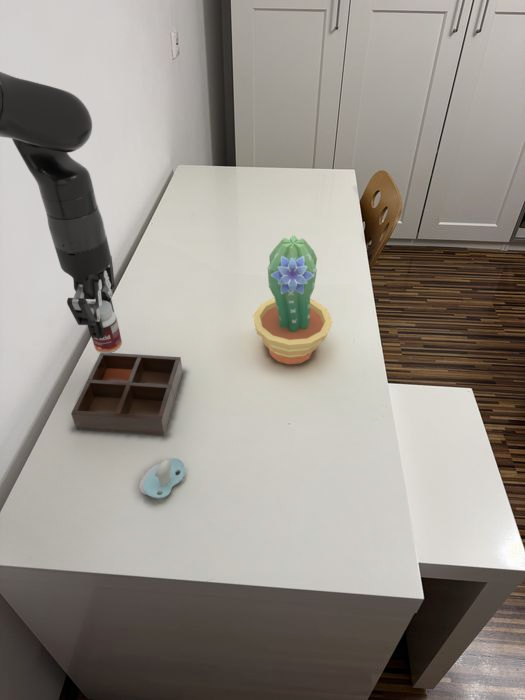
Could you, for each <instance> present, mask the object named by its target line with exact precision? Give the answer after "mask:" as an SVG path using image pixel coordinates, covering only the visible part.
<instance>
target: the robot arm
mask: <svg viewBox="0 0 525 700" xmlns="http://www.w3.org/2000/svg"><path fill="white" fill-rule="evenodd" d="M92 134H93V119H92V116H91V113H90V111H89V109H88V107H87V106H86V105H85V103H84V102H83V101H82V100H81V99H80V98H79V97H78V96H77V95H75V94H73V93H71V92H69V91H67V90H64V89H61V88H57V87H54V86H52V85H51V86H50V85H47V84H43V83H39V82H37V81H36V82H35V81H31V80H27V79H24V78H19V77H16V76H13V75H10V74H7V73H5V72H3V71H0V138H8V139H11V140H12V142H13V144H14V146H15V148H16V149H17V151H18V153H19V155H20V156H21V158H22V160H23V162H24V164H25V166H26V168H27V169H28V171H29V173H30V174H31V175H32V177H33V179H34V180H35V182H36V184H37V185H38V190H39V193H40V198H41V200H42V203H43V207H44V210H45V214H46V219H47V224H48V229H49V233H50V236H51V240H52V243H53V247H54V250H55V252H56V256H57V259H58V262H59V265H60V268H61V270H62V271H63V272H64V273H65V274H67V275H69V276H70V277H71V278H72V281H73V290H74V291H75V292H74V295H73V297H68V298H67V300H66V304H67V306H68V308H69V310H70V312H71V313H72V316H73V318H74V319H75V321H76V323H77V325H78V326H87V328H88V331H89V335H90V337H91V339H92V338H103V337H104V335H105V332H104V329H103V325H102V321H101V318H100V309H99V307H100V306H102V300H104V301H108V302H109V303H110V304H111V306H112V310H113V312H114V313H115V308H114V305H113V300H112V298H113V291H112V290H115V288H116V282H115V274H114V265H113V258H112V257H113V256H112V255H111V250H110V245H109V241H108V236H107V232H106V228H105V223H104V219H103V216H102V214H101V211H100V209H99V206H98V200H97V196H96V191H95V187H94V183H93V178H92V176H91V174H90V171H89V169H88V168H87V167H86V166H85V165H84V164H82V163H81V162H79V161H77V160H76V159H74V157H72V156H71V155H70V154H69V153H75V152H76V151H79V150H81V149H82V148H84V147H85V146H86V145H87V144H88V142H89V140H90V139H91V137H92ZM89 300H90V301H89ZM92 300H95V301H96V302H94V301H92ZM90 308H93V310H94V314H93V313H92V311H91V309H90Z"/></svg>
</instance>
